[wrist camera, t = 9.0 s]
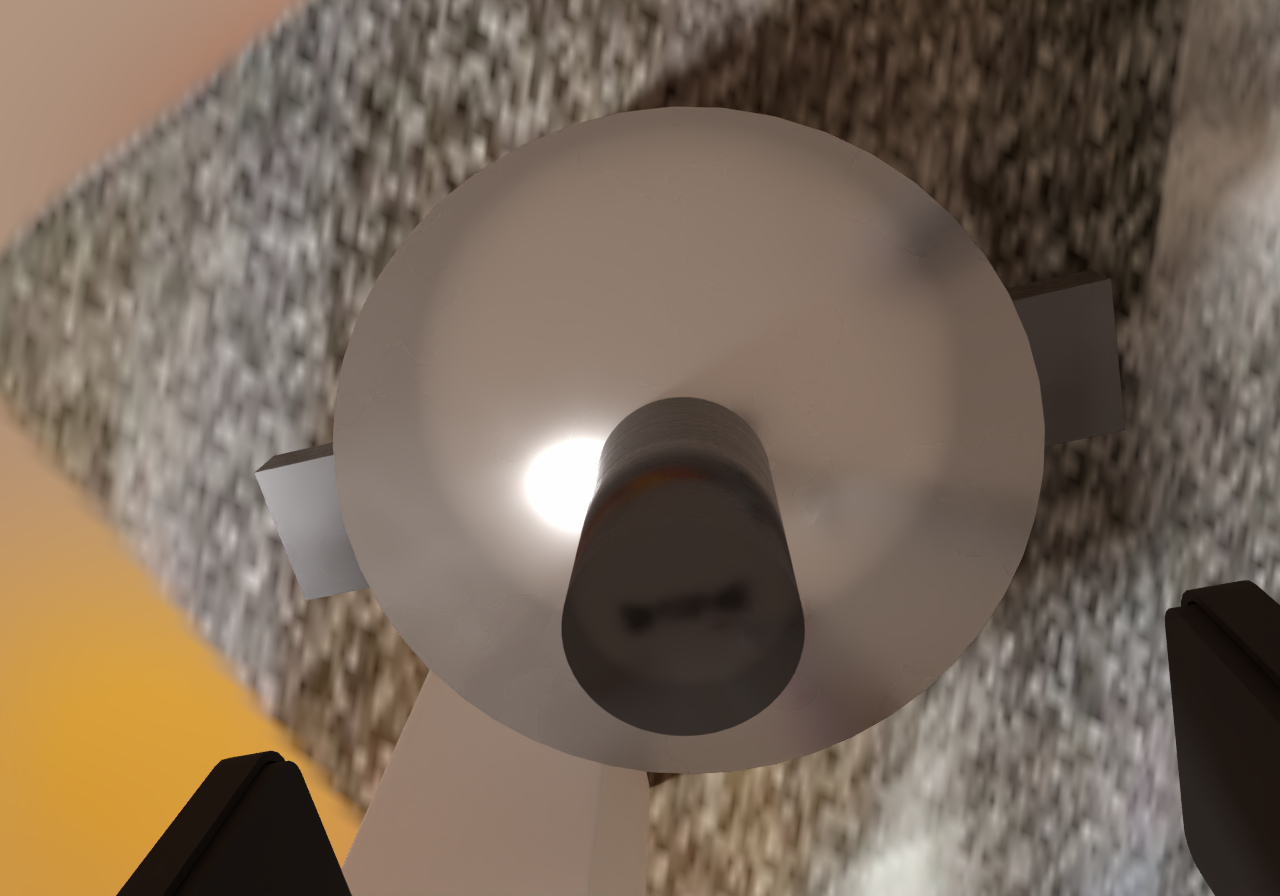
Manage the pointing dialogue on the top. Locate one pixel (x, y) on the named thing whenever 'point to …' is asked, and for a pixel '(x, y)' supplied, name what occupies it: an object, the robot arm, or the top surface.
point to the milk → (496, 814)
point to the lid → (688, 440)
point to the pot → (1049, 311)
